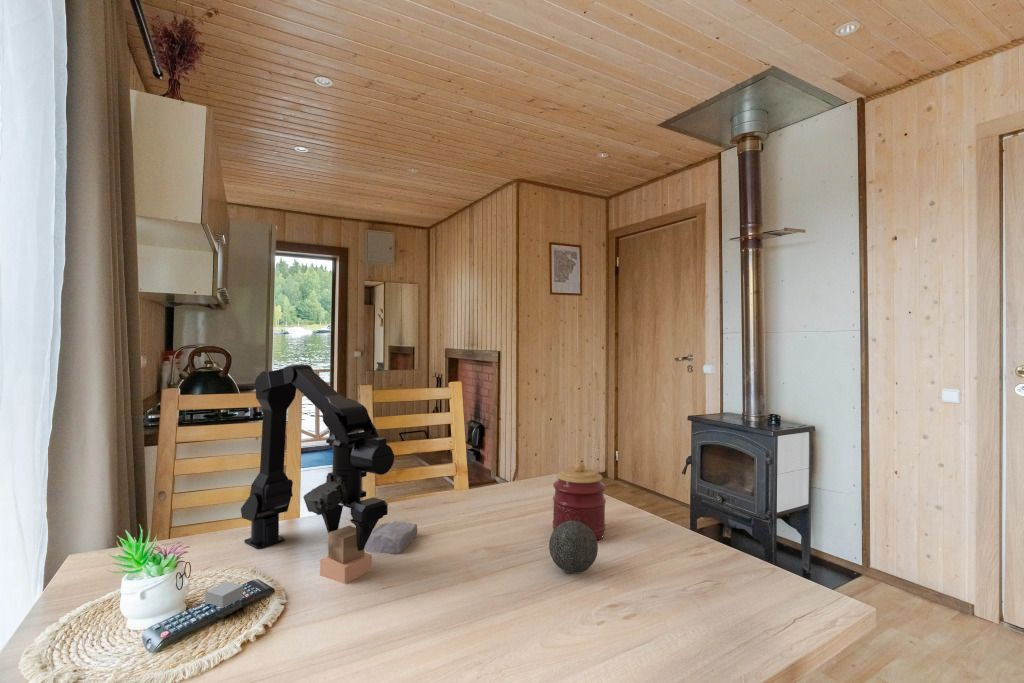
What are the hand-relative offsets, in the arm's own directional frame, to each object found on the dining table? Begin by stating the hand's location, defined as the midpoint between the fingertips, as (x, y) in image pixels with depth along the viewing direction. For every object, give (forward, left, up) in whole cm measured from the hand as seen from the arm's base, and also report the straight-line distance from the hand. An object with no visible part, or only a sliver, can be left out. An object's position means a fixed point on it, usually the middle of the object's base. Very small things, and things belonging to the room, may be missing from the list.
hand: (346, 544), depth 101 cm
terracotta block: (0, 0, -6) cm, 6 cm away
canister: (+27, +48, -6) cm, 55 cm away
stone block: (-5, +15, -6) cm, 17 cm away
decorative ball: (+36, +29, -6) cm, 47 cm away
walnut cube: (0, 0, -2) cm, 3 cm away
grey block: (-4, -21, -6) cm, 23 cm away
